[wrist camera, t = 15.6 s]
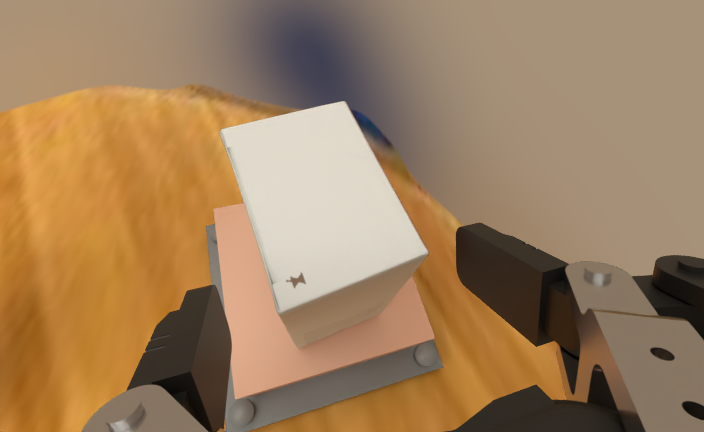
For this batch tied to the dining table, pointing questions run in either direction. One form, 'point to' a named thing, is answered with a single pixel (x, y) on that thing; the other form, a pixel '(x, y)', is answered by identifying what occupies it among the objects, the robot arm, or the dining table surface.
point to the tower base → (313, 359)
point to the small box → (322, 219)
